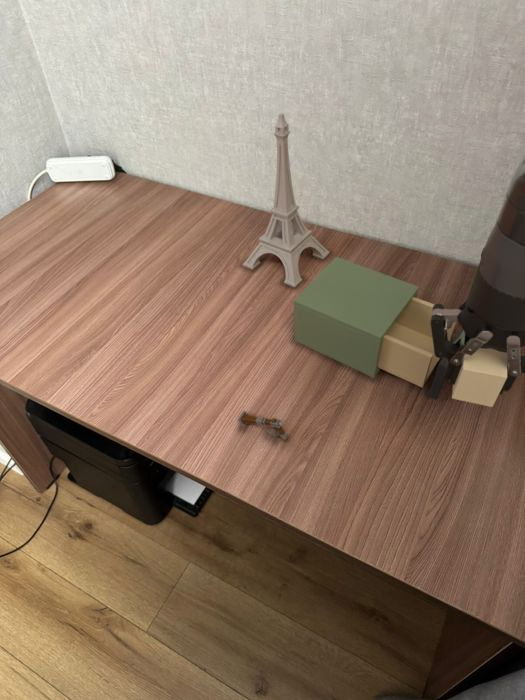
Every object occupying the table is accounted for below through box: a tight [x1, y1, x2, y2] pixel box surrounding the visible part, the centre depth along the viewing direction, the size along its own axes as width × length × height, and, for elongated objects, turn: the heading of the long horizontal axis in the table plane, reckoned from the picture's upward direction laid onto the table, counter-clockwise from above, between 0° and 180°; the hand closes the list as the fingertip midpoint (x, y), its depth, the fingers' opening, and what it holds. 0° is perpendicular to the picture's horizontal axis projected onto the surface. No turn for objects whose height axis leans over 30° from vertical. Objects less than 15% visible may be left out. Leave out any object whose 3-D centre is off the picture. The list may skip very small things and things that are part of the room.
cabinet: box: [293, 256, 420, 379], centre depth 83 cm, size 16×14×10 cm
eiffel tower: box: [242, 112, 331, 288], centre depth 92 cm, size 13×13×30 cm
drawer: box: [378, 297, 463, 401], centre depth 78 cm, size 19×13×8 cm, turn 54°
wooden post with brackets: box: [237, 410, 289, 442], centre depth 74 cm, size 2×8×4 cm, turn 60°
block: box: [451, 348, 508, 408], centre depth 56 cm, size 4×4×6 cm
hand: (475, 383), depth 57 cm, fingers closed on block, 4 cm apart
